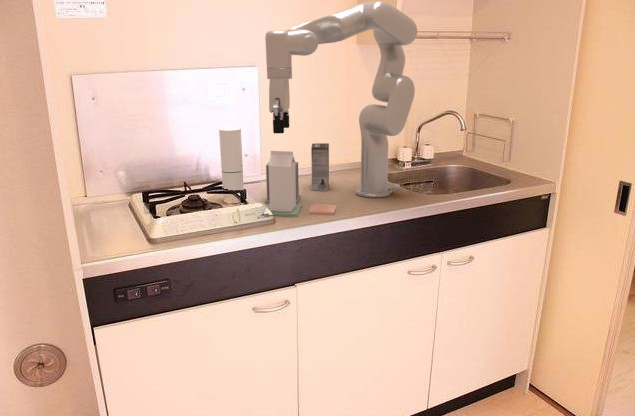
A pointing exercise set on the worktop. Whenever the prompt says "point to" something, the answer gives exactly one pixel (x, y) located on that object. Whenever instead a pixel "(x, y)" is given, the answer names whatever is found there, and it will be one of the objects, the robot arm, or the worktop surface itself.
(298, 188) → the wall box
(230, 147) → the cylindrical container
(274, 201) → the milk carton
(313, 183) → the coffee box
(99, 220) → the worktop surface
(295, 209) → the green mat
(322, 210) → the terracotta tile
